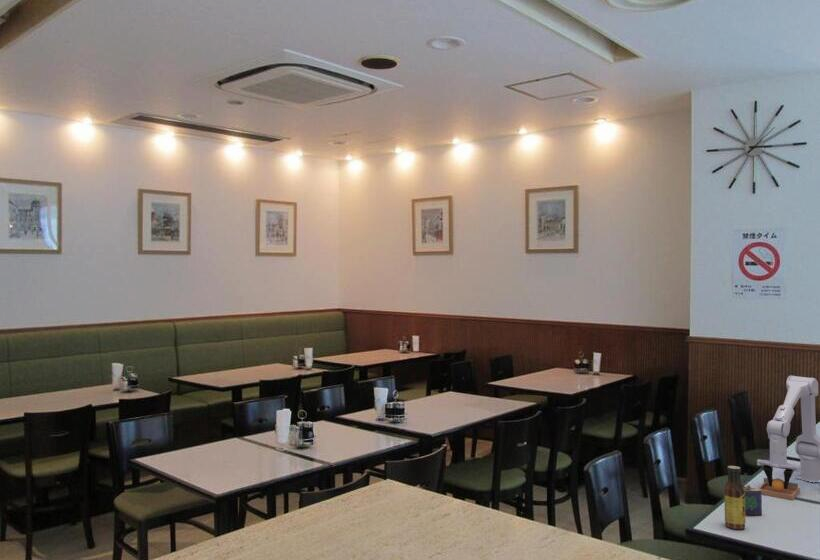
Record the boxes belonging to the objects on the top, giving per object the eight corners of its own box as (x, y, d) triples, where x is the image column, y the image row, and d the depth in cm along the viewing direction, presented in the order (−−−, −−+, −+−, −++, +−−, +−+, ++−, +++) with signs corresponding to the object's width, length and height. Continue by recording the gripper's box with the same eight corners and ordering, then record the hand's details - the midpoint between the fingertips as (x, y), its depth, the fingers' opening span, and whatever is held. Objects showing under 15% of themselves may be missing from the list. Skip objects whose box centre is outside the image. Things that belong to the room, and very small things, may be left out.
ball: (776, 488, 260) (776, 476, 260) (787, 491, 256) (787, 479, 256) (768, 489, 258) (768, 477, 258) (779, 493, 254) (779, 481, 254)
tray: (765, 486, 266) (765, 481, 266) (799, 492, 258) (799, 487, 258) (756, 493, 256) (756, 489, 256) (792, 500, 248) (792, 495, 248)
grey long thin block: (764, 485, 267) (764, 477, 267) (798, 491, 259) (798, 483, 259) (763, 485, 266) (763, 478, 266) (797, 491, 258) (797, 484, 258)
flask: (759, 513, 235) (759, 483, 235) (763, 516, 232) (763, 485, 232) (733, 513, 236) (733, 483, 236) (736, 516, 233) (736, 485, 233)
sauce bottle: (747, 531, 219) (747, 470, 219) (727, 529, 220) (727, 469, 220) (742, 523, 225) (741, 465, 225) (722, 522, 227) (722, 464, 226)
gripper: (754, 450, 259) (755, 485, 259) (797, 457, 249) (797, 493, 249) (759, 447, 264) (759, 481, 264) (801, 453, 254) (801, 488, 254)
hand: (778, 486), depth 257 cm, fingers closed on ball, 5 cm apart
